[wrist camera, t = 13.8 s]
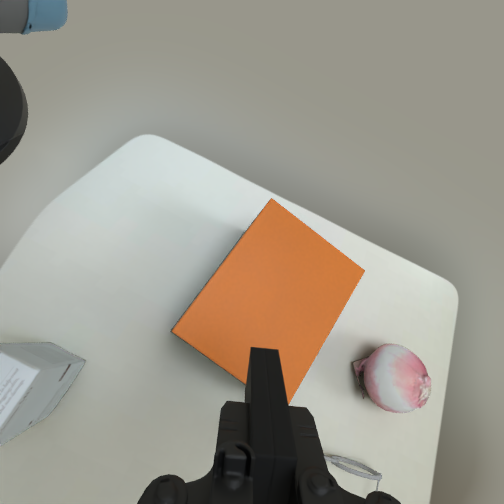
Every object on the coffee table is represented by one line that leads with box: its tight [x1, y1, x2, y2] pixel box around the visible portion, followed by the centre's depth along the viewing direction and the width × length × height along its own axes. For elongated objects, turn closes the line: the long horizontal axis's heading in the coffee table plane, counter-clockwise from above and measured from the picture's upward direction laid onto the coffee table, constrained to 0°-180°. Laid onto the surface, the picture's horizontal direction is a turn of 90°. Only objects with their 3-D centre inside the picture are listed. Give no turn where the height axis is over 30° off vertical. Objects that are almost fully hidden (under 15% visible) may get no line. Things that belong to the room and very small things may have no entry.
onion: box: [353, 344, 431, 413], centre depth 37 cm, size 8×8×7 cm
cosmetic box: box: [0, 342, 85, 446], centre depth 25 cm, size 6×4×12 cm
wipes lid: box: [172, 198, 365, 405], centre depth 29 cm, size 16×13×1 cm
